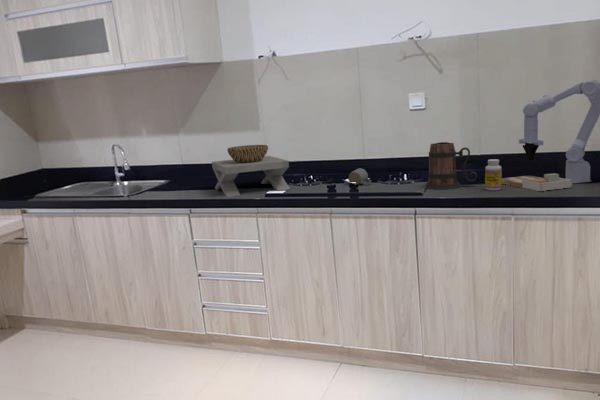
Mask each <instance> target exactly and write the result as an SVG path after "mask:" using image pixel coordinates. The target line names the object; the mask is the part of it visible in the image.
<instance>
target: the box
mask: <svg viewBox="0 0 600 400" xmlns="http://www.w3.org/2000/svg"><path fill="white" fill-rule="evenodd" d="M572 186H573V183H572V180H570V179H566V178H563V177H559V181H555V182H547V183H537V182H532V181H527V180H522V188H521V189H524V188H525V190H529V189H530V190H531V191H534V190H535V192H538V191H544V192H547V191H546V190H553V191H555V190H554V189H561V190H564V189H563V188H569V189H571V188H570V187H572ZM572 188H573V187H572Z"/></svg>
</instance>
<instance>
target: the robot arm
mask: <svg viewBox="0 0 600 400" xmlns="http://www.w3.org/2000/svg"><path fill="white" fill-rule="evenodd" d="M582 94H584V96H585V97H587V98H588V100H589V103H590V107H589V109H588V112H587V114H586V116H585V117H584V120H583V122H582V125H581V127H580V128H579V131H578V133H577V135H576V138H575V139H574V141H573V142H572V144H571V147H569V148H568V149H567V150H566V152H565V157H566V159H567V160H565V179H570V180H572V184H580V183H589V182H592V179H591V164H590V163H589V162H588V161H586V160H585V159H584V158H583V157H584V156H585V154H586V153H585V149H586V146H587V144H588V141H589V139H590V136H591V134H592V132H593V131H594V128H595V126H596V124H597V122H598V119H599V118H600V82H599V81H598V80H595V79H591V80H590V79H588V80H585V81H584V82H580V83H577V84H574V85H572V86H570V87H568V88H566V89H564V90H562V91H560V92H558V93H556V94H554V95H552V94H543V96H542V97H541V98H539V99H537V100H535V99H534V100H532V101H531V102H532V103H528V104H527V103H526V105H524V107H523V109H522V113H523V115H524V119H523V124H524V125H523V138H519V139H518V144H523V145H522V148H523V150H524V152H525V155H526V159H527V161H534V159H535V155H536V153H537V150H538V148H539V147H540V146H544V140H541V139H538V137H539V135H538V133H539V119H538V116H539V115H538V114H539V113H543V112H545V111H547V110H549V109H552V108H554V107H555V106H556V104H557V103H558V102H560V101H562V100H564V99H566V98H568V97H571V96H574V95H582Z"/></svg>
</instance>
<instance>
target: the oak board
mask: <svg viewBox="0 0 600 400" xmlns="http://www.w3.org/2000/svg"><path fill="white" fill-rule="evenodd" d="M533 179H543V180H544V177H539V176H535V175H529V174H528V175H521V176H514V177H513V176H512V177H511V176H510V177H504V178H503V177H502V184H501V185H505V184H506V185H505V186H510V185H511V186H510V187H514V186H515V188H519V187H520V189H523V188H522V180H527V181H529V180H533Z"/></svg>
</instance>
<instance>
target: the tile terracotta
mask: <svg viewBox="0 0 600 400" xmlns="http://www.w3.org/2000/svg"><path fill="white" fill-rule="evenodd" d="M529 181H532V182H537V183H547V180H543V179H533V180H529Z"/></svg>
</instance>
